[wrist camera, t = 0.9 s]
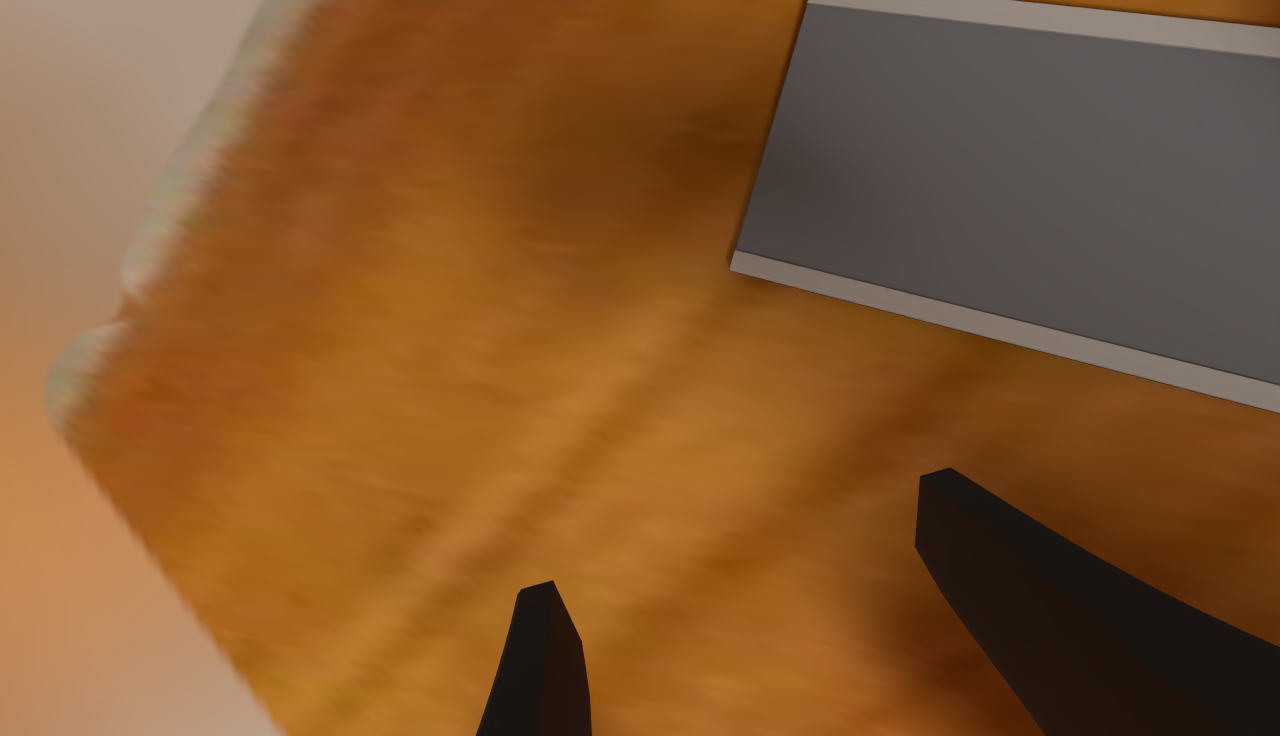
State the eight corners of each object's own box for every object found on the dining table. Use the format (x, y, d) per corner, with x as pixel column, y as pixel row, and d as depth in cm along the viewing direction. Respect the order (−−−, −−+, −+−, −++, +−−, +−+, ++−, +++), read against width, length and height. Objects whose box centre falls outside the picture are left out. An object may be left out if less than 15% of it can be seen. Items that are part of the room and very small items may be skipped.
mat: (1479, 59, 17) (1498, 50, 16) (1311, 422, 18) (1324, 424, 18) (814, -13, 22) (814, -21, 22) (731, 271, 24) (729, 270, 23)
